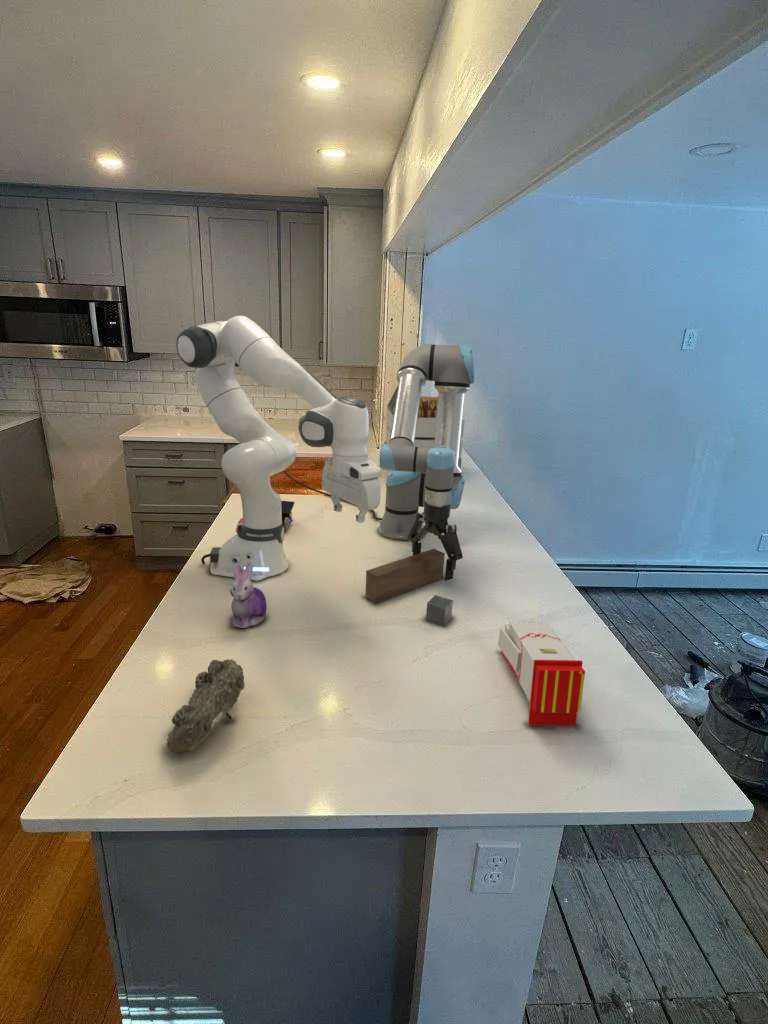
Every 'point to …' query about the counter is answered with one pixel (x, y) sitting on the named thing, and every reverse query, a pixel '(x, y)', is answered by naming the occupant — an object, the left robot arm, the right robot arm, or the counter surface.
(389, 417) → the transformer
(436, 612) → the slate block
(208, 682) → the fossil
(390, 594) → the walnut plank
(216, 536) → the counter surface
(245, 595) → the figurine
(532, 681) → the toy
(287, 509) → the figurine character
